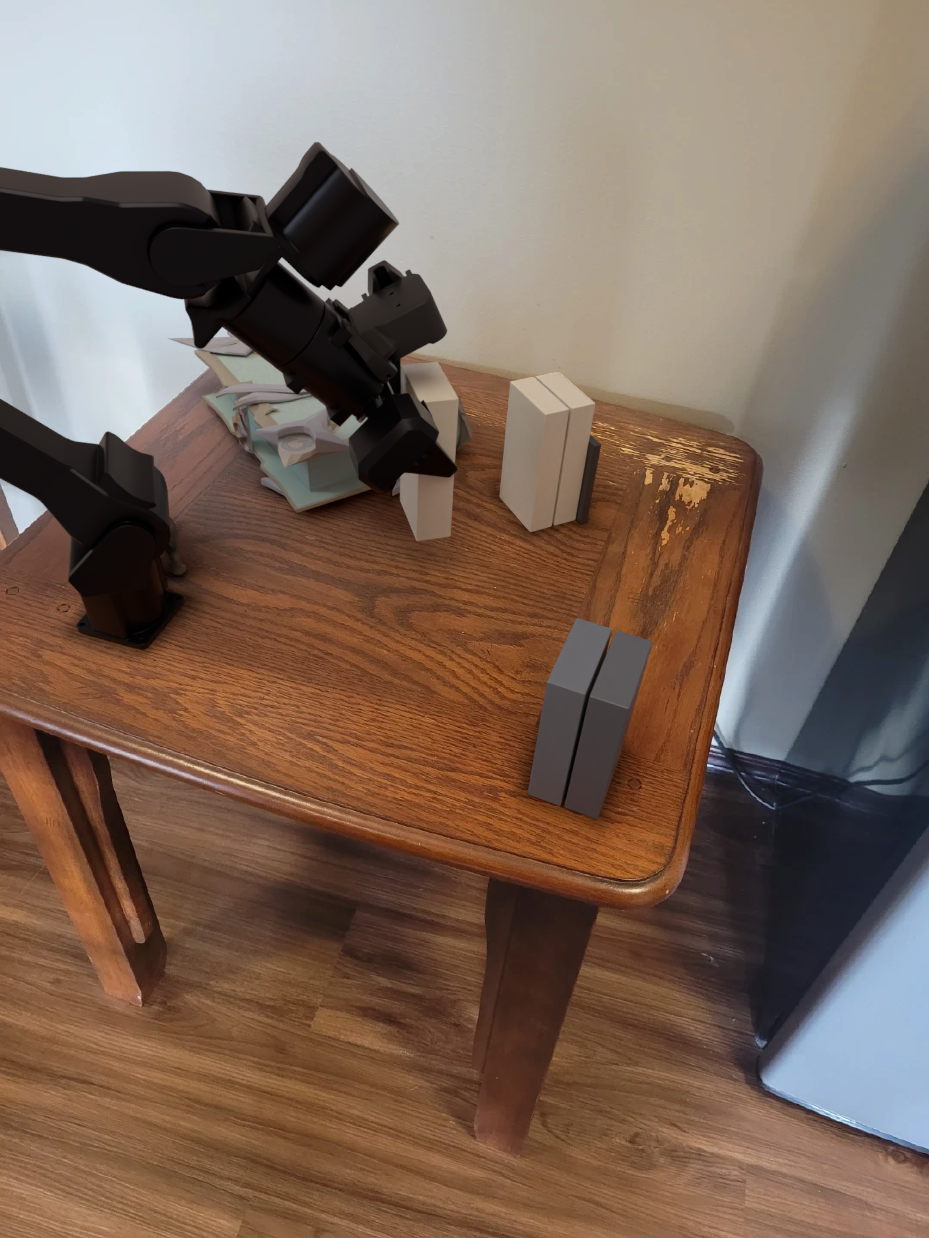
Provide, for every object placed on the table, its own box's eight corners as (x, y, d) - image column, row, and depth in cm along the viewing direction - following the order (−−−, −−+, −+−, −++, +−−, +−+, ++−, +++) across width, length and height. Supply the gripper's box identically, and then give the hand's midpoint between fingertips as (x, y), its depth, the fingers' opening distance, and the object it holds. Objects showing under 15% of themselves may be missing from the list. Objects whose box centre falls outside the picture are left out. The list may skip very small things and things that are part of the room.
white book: (416, 541, 71) (419, 402, 62) (399, 500, 75) (400, 364, 66) (450, 537, 72) (459, 398, 63) (432, 496, 76) (437, 361, 67)
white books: (534, 537, 82) (550, 419, 73) (495, 493, 87) (505, 377, 78) (587, 522, 84) (608, 405, 76) (546, 480, 90) (562, 365, 81)
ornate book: (481, 480, 91) (348, 354, 107) (489, 400, 84) (346, 279, 100) (286, 546, 81) (173, 397, 98) (277, 462, 74) (157, 317, 91)
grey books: (527, 794, 61) (546, 681, 52) (554, 730, 65) (576, 617, 57) (597, 820, 59) (629, 709, 51) (620, 753, 64) (653, 640, 56)
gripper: (410, 303, 50) (558, 444, 61) (348, 198, 63) (479, 329, 73) (287, 433, 54) (447, 545, 64) (252, 308, 66) (390, 419, 77)
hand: (442, 451), depth 69 cm, fingers closed on white book, 6 cm apart
